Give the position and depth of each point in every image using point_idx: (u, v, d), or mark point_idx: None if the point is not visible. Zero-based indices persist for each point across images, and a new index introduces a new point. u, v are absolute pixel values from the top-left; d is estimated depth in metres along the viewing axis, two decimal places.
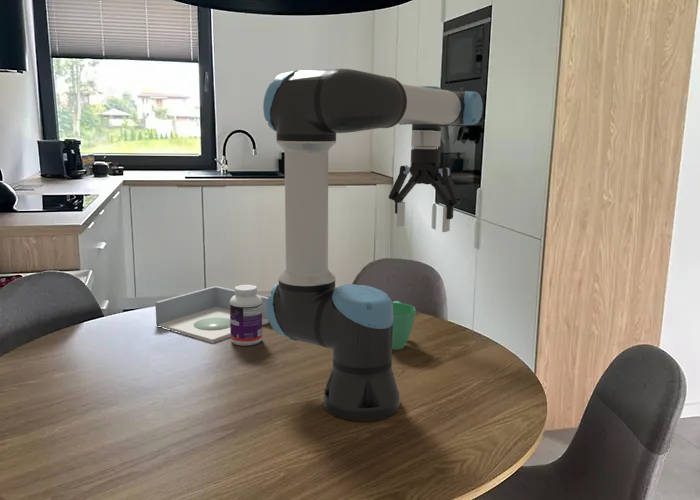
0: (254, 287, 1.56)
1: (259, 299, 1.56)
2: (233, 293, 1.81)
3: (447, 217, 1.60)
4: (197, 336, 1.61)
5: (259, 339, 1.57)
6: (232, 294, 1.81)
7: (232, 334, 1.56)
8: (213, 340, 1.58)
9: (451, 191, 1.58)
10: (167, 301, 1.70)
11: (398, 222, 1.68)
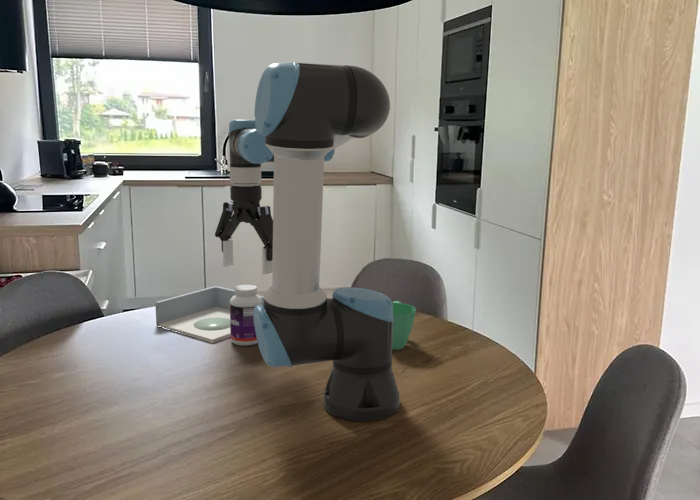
0: (254, 287, 1.56)
1: (259, 299, 1.56)
2: (233, 293, 1.81)
3: (267, 258, 1.50)
4: (197, 336, 1.61)
5: None
6: (232, 294, 1.81)
7: (232, 334, 1.56)
8: (213, 340, 1.58)
9: (268, 231, 1.48)
10: (167, 301, 1.70)
11: (224, 261, 1.58)
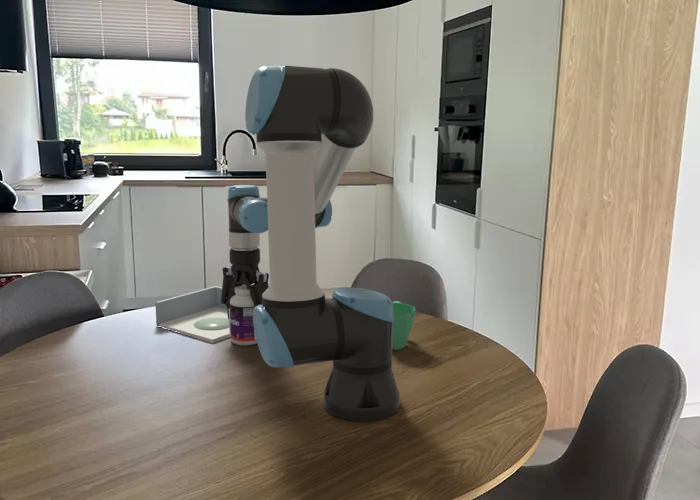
0: None
1: None
2: None
3: None
4: (197, 336, 1.61)
5: None
6: None
7: (232, 334, 1.56)
8: (213, 340, 1.58)
9: None
10: (167, 301, 1.70)
11: None
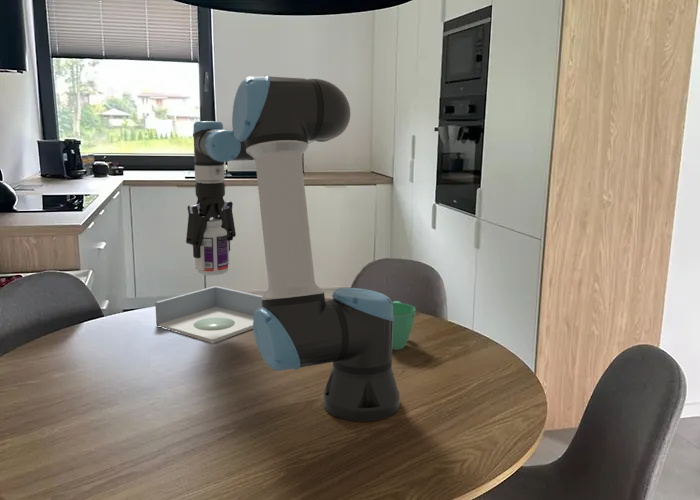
0: (209, 221, 1.62)
1: (205, 232, 1.61)
2: (233, 293, 1.81)
3: None
4: (197, 336, 1.61)
5: None
6: (232, 294, 1.81)
7: None
8: (213, 340, 1.58)
9: None
10: (167, 301, 1.70)
11: None
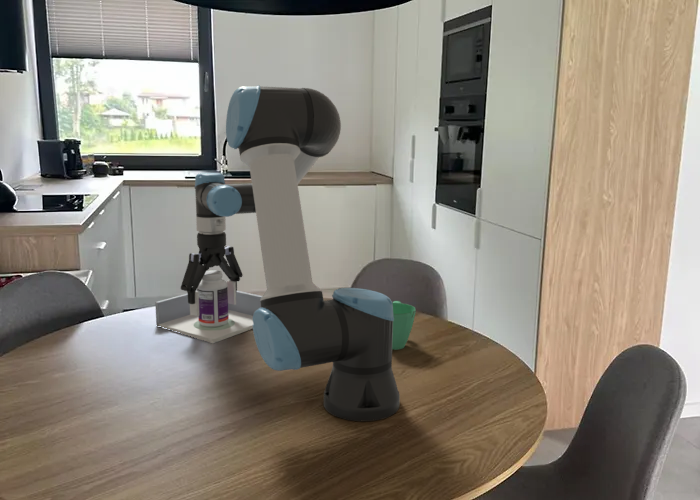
0: (210, 274, 1.64)
1: (205, 286, 1.64)
2: None
3: None
4: (197, 336, 1.61)
5: (203, 322, 1.66)
6: None
7: None
8: (213, 340, 1.58)
9: None
10: (167, 301, 1.70)
11: None
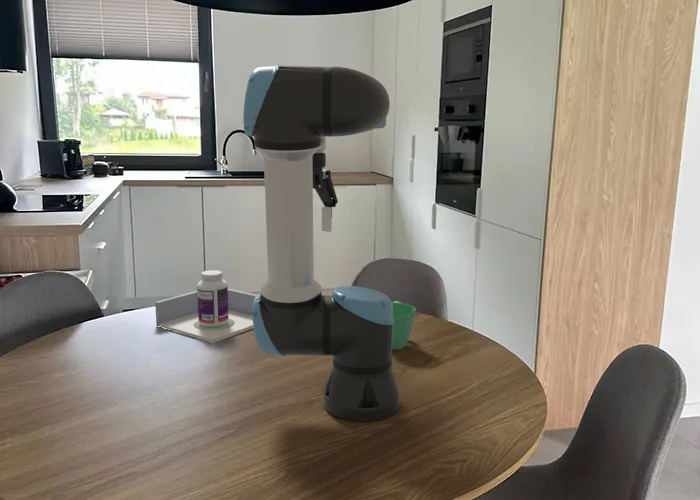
0: (210, 274, 1.64)
1: (205, 286, 1.64)
2: (233, 293, 1.81)
3: None
4: (197, 336, 1.61)
5: (203, 322, 1.66)
6: (232, 294, 1.81)
7: None
8: (213, 340, 1.58)
9: None
10: (167, 301, 1.70)
11: None
